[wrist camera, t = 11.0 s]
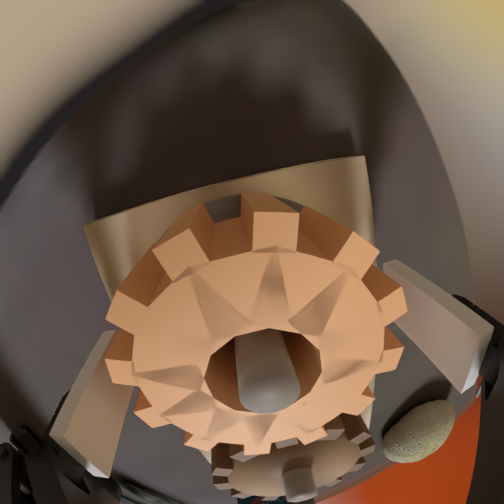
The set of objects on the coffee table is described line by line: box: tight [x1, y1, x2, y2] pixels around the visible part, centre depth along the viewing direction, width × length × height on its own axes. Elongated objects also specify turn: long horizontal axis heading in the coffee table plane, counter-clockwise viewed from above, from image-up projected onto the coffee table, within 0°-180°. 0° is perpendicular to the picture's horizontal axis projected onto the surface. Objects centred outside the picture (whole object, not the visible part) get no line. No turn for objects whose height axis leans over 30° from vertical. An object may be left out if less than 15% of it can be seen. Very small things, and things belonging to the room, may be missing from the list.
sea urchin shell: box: [382, 400, 455, 463], centre depth 21 cm, size 9×8×8 cm
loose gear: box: [105, 193, 408, 455], centre depth 11 cm, size 11×11×5 cm
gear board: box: [83, 156, 377, 504], centre depth 14 cm, size 14×24×8 cm, turn 13°
